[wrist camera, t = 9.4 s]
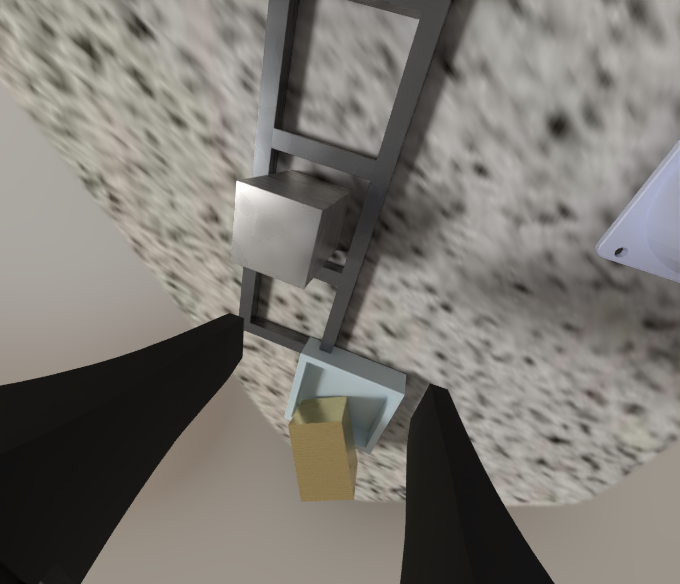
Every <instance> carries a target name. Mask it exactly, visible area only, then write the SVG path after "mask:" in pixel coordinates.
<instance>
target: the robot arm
mask: <svg viewBox="0 0 680 584" xmlns="http://www.w3.org/2000/svg"><path fill="white" fill-rule="evenodd" d="M621 247H623V250H622V252H621V253H619V254H617V255H614V253H615V251H616V250H617V249H618V248H621ZM595 252H596V254H598V255H599V256H601V257H603V258H605V259H608V260H611V261H614V262H617V263H620V264H624V265H627V266H630V267H633V268H636V269H639V270H642V271H645V272H648V273H651V274H654V275H657V276H660V277H663V278H666V279H669V280H672V281H675V282H678V283H680V139H679V141H678V142H677V143H676V144H675V146H674V147H673V148H672V149H671V151H670V152H669V153H668V155H667V156H666V157H665V158H664V160H663V161H662V162H661V163H660V165H659V166H658V167H657V168H656V170H655V171H654V172H653V173H652V175H651V176H650V177H649V178H648V180H647V181H646V182H645V183H644V185H643V186H642V187H641V189H640V190H639V191H638V192H637V194H636V195H635V196H634V197H633V199H632V200H631V201H630V202H629V204H628V205H627V206H626V207H625V209H624V210H623V211H622V212H621V214H620V215H619V216H618V218H617V219H616V220H615V221H614V223H613V224H612V225H611V226H610V228H609V229H608V230H607V231H606V233H605V234H604V235H603V236H602V238H601V239H600V240H599V241H598V243H597V244H596V246H595ZM243 332H244V318H242V317H239V316H237V315H234V314H231V313H229V314H226V315H224V316H221V317H219V318H217V319H214V320H212V321H210V322H207V323H205V324H203V325H200V326H198V327H196V328H193V329H191V330H189V331H187V332H184V333H182V334H179V335H177V336H174V337H172V338H169V339H167V340H164V341H161V342H159V343H156V344H154V345H151V346H148V347H146V348H143V349H141V350H138V351H135V352H132V353H129V354H126V355H123V356H120V357H116V358H113V359H110V360H106V361H103V362H100V363H96V364H93V365H89V366H85V367H81V368H77V369H73V370H69V371H65V372H61V373H57V374H53V375H49V376H45V377H41V378H36V379H31V380H26V381H22V382H17V383H12V384H6V385H1V386H0V584H81V582H82V581H83V579H84V578H85V576H86V574H87V573H88V571H89V569H90V568H91V566H92V565H93V563H94V561H95V560H96V558H97V557H98V555H99V553H100V552H101V550H102V549H103V547H104V545H105V544H106V542H107V540H108V539H109V537H110V536H111V534H112V533H113V531H114V529H115V528H116V526H117V525H118V523H119V522H120V520H121V519H122V517H123V515H124V514H125V513H126V511H127V509H128V508H129V507H130V505H131V504H132V502H133V501H134V499H135V497H136V496H137V495H138V493H139V492H140V490H141V489H142V487H143V486H144V484H145V483H146V482H147V480H148V479H149V477H150V476H151V474H152V473H153V471H154V470H155V468H156V467H157V466H158V464H159V463H160V462H161V460H162V459H163V457H164V456H165V455H166V453H167V452H168V450H169V449H170V448H171V446H172V445H173V444H174V442H175V441H176V439H177V438H178V437H179V436H180V435H181V433H182V432H183V431H184V430H185V428H186V427H187V426H188V425H189V424H190V423H191V421H192V420H193V419H194V418H195V417H196V416H197V414H198V413H199V412H200V411H201V409H203V407H204V406H205V405H206V404H207V403H208V402H209V400H211V398H212V397H213V396H214V395H215V394H216V393H217V391H218V390H219V389H220V388H221V387H222V386H223V384H224V383H225V382H226V381H227V380H228V378H229V377H230V375H231V374H232V372H233V371H234V369H235V368H236V366H237V365H238V363H239V362H240V360H241V359H242V357H243ZM400 584H554V582H553V581H552V579H551V578H550V576H549V575H548V573H547V572H546V570H545V569H544V567H543V566H542V565H541V563H540V562H539V560H538V559H537V557H536V556H535V554H534V553H533V551H532V550H531V548H530V546H529V545H528V543H527V542H526V540H525V539H524V537H523V536H522V534H521V532H520V531H519V529H518V527H517V526H516V524H515V522H514V521H513V519H512V517H511V516H510V514H509V513H508V511H507V509H506V508H505V506H504V504H503V502H502V501H501V499H500V497H499V495H498V493H497V492H496V490H495V488H494V486H493V484H492V482H491V481H490V479H489V477H488V475H487V473H486V471H485V469H484V467H483V465H482V463H481V461H480V459H479V457H478V455H477V453H476V451H475V449H474V447H473V445H472V443H471V441H470V439H469V436H468V434H467V432H466V430H465V428H464V425H463V423H462V421H461V419H460V416H459V414H458V412H457V410H456V407H455V405H454V403H453V400H452V398H451V396H450V393H449V391H448V389H445V388H442V387H439V386H436V385H433V384H431V383H430V385H429V387H428V388H427V390H426V392H425V394H424V396H423V398H422V399H421V401H420V403H419V405H418V407H417V409H416V411H415V412H414V414H413V416H412V418H411V421H410V428H409V435H408V443H407V465H406V525H405V541H404V551H403V561H402V571H401V580H400Z"/></svg>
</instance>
